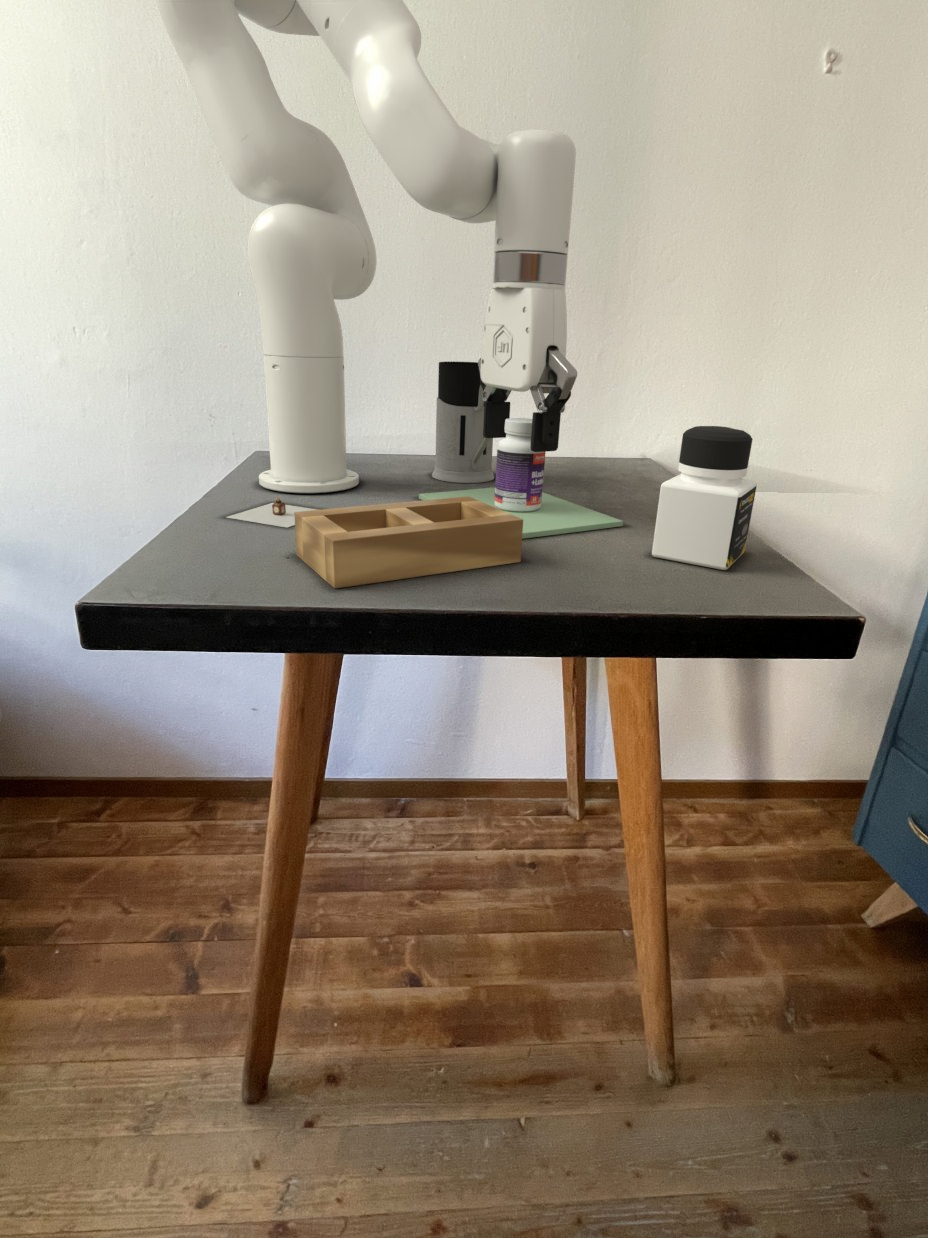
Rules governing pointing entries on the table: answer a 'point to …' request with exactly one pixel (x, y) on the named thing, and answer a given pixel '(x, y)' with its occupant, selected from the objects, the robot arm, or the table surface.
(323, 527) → the holder
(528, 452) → the pill bottle
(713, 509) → the medicine bottle
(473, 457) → the glass holder
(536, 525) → the mat
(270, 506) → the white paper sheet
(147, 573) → the table surface
